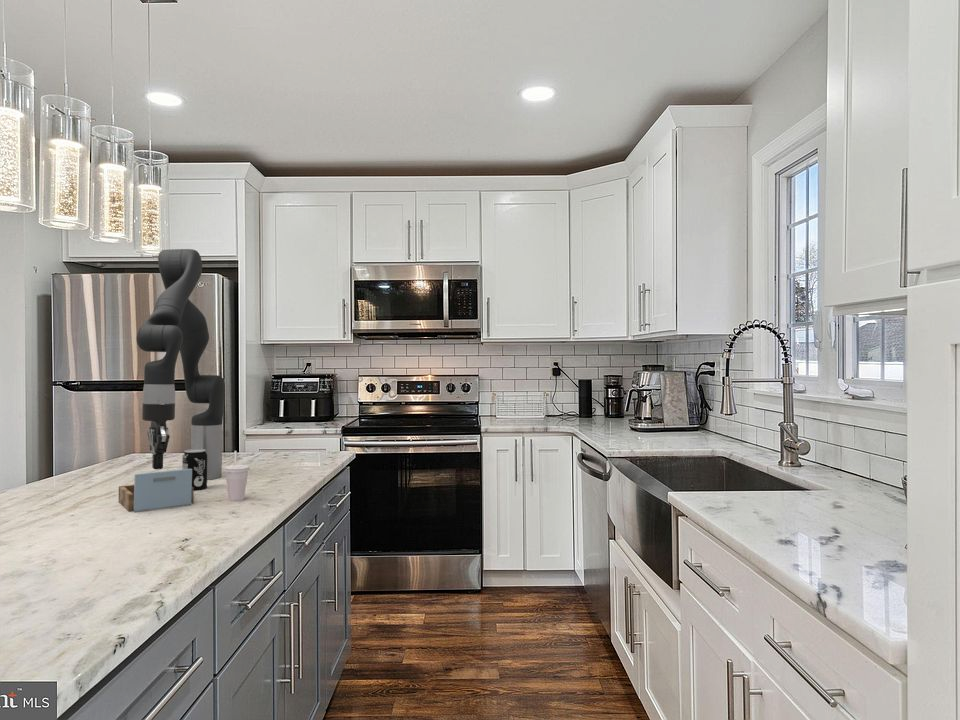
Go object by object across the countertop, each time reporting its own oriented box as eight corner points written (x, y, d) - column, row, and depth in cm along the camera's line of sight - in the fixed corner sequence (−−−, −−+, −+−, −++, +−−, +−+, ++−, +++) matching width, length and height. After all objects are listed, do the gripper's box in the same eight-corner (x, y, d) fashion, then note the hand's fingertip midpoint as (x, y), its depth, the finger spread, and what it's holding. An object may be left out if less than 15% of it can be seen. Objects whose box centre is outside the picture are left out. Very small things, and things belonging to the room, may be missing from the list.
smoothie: (218, 503, 167) (219, 451, 167) (237, 498, 173) (238, 448, 173) (235, 506, 164) (235, 453, 164) (254, 501, 170) (255, 450, 170)
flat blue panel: (133, 513, 154) (134, 473, 153) (189, 506, 162) (190, 468, 161) (134, 514, 153) (135, 474, 152) (191, 507, 161) (192, 469, 160)
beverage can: (211, 489, 184) (211, 449, 184) (199, 494, 178) (199, 452, 178) (190, 488, 185) (190, 448, 185) (177, 493, 178) (177, 451, 178)
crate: (118, 505, 163) (118, 486, 163) (180, 497, 173) (180, 479, 173) (128, 515, 153) (128, 494, 153) (193, 506, 163) (193, 487, 163)
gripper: (137, 400, 164) (135, 466, 164) (148, 403, 154) (147, 473, 154) (168, 400, 169) (167, 464, 169) (181, 402, 159) (180, 471, 159)
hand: (157, 468), depth 161 cm, fingers closed
